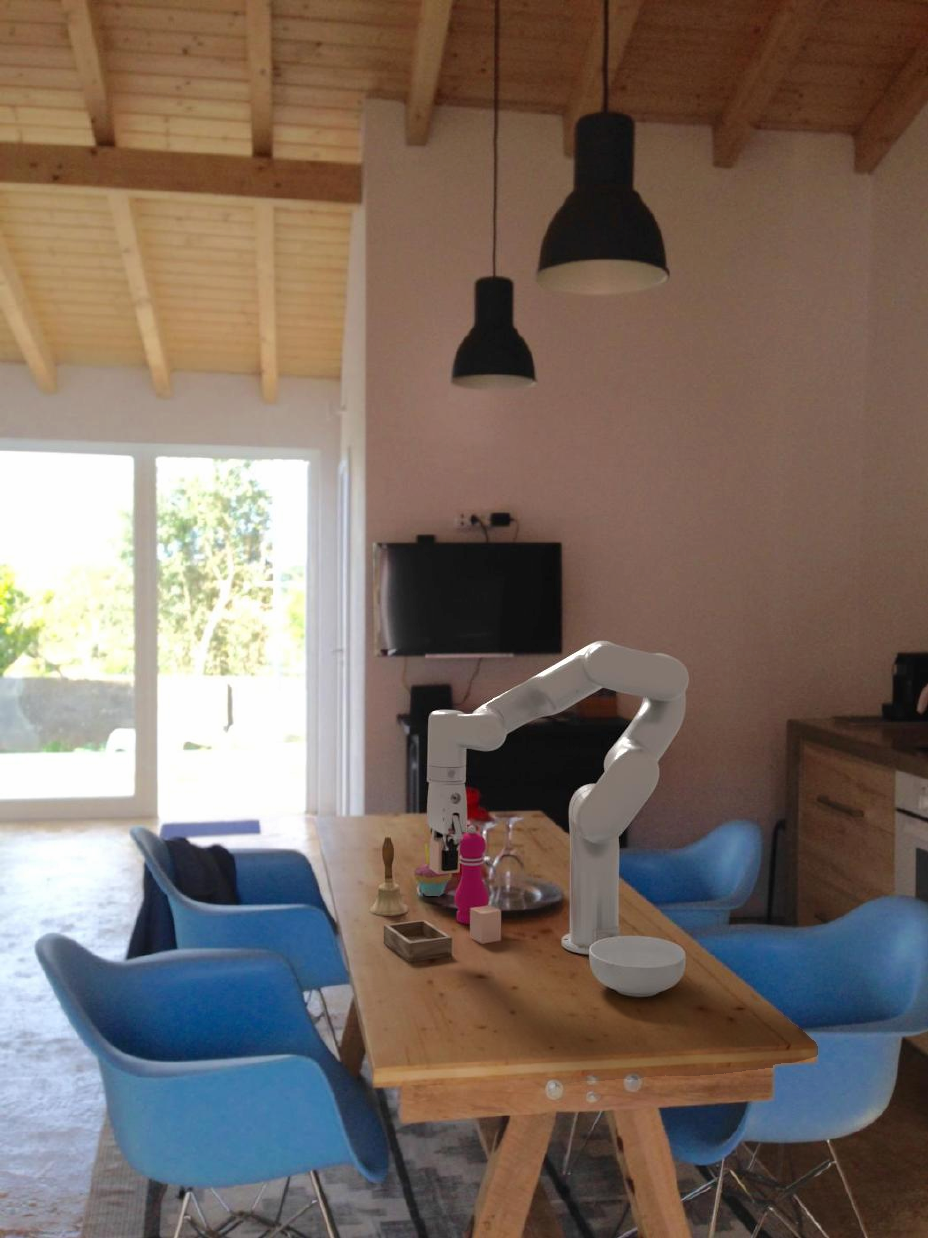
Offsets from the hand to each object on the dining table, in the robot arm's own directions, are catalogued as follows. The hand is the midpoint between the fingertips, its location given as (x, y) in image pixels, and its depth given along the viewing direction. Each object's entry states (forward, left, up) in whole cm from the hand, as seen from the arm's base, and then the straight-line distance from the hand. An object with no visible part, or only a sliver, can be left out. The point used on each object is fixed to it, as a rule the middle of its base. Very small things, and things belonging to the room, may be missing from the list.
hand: (444, 866), depth 233 cm
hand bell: (+28, 0, -16) cm, 32 cm away
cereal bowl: (-36, -21, -16) cm, 45 cm away
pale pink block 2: (+1, -9, -16) cm, 18 cm away
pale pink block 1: (0, 0, -1) cm, 1 cm away
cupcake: (+36, -14, -16) cm, 41 cm away
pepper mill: (+14, -13, -16) cm, 24 cm away
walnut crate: (+1, +5, -16) cm, 17 cm away
